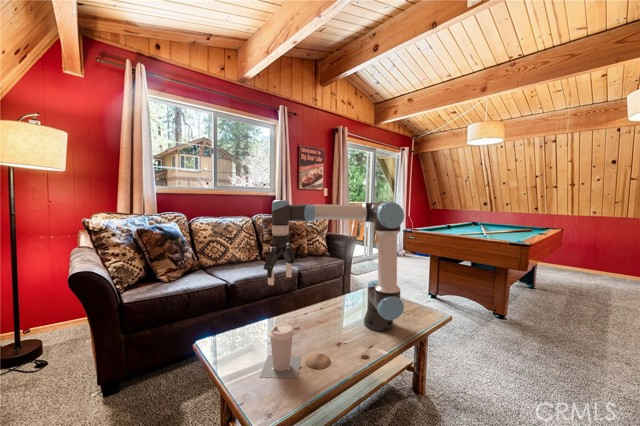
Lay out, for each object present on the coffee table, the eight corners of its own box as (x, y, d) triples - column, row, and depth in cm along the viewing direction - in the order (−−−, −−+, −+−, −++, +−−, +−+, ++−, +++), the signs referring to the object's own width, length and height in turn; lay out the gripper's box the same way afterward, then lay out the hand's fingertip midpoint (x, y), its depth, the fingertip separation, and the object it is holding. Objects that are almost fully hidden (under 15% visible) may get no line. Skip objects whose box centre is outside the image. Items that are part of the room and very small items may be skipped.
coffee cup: (270, 359, 111) (270, 323, 111) (294, 358, 112) (294, 322, 111) (268, 374, 102) (267, 335, 101) (293, 373, 103) (293, 334, 102)
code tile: (301, 356, 114) (301, 356, 114) (297, 378, 100) (297, 378, 100) (268, 355, 114) (268, 355, 114) (259, 377, 100) (259, 377, 100)
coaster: (330, 354, 115) (330, 353, 115) (330, 369, 105) (330, 368, 105) (306, 354, 116) (306, 353, 116) (304, 368, 106) (304, 367, 106)
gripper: (289, 231, 136) (289, 273, 137) (255, 237, 114) (255, 287, 115) (302, 232, 132) (301, 275, 134) (269, 238, 111) (269, 289, 112)
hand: (280, 280), depth 124 cm, fingers open, 13 cm apart
